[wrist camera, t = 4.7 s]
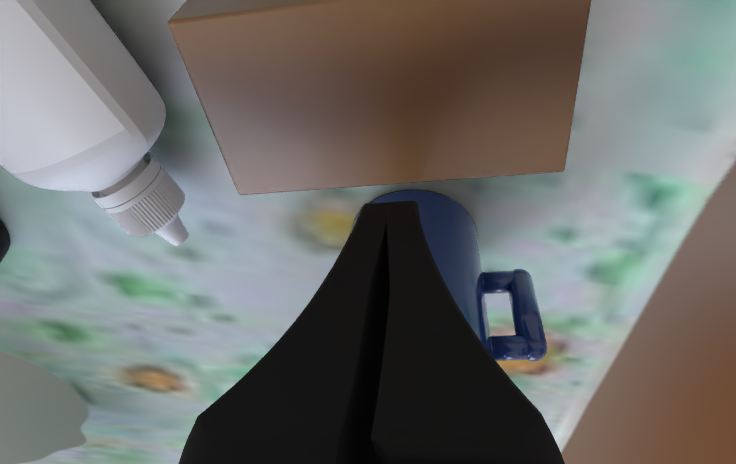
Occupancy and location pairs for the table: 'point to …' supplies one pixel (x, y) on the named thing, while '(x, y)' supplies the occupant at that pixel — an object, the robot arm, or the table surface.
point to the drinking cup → (3, 241)
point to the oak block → (383, 87)
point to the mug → (476, 276)
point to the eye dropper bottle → (83, 115)
